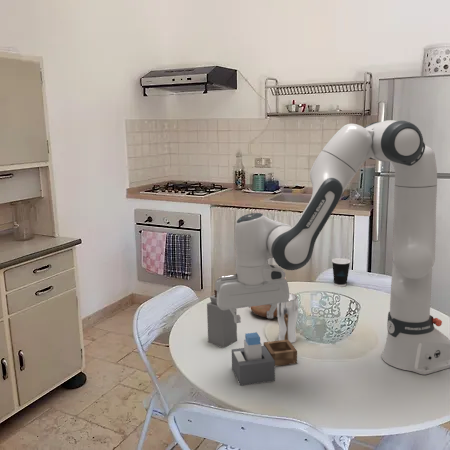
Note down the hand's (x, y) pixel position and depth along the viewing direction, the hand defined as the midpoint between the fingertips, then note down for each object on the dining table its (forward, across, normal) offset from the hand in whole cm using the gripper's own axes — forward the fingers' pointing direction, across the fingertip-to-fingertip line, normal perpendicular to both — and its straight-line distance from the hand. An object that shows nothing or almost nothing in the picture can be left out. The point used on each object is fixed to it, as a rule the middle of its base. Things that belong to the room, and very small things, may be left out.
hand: (253, 320), depth 138 cm
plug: (+17, -1, +1) cm, 17 cm away
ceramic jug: (+17, +17, +41) cm, 48 cm away
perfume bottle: (+16, -5, +24) cm, 29 cm away
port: (+17, -1, 0) cm, 17 cm away
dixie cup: (+17, +57, +64) cm, 87 cm away
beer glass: (+17, +16, +19) cm, 31 cm away
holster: (+17, +10, +7) cm, 21 cm away
